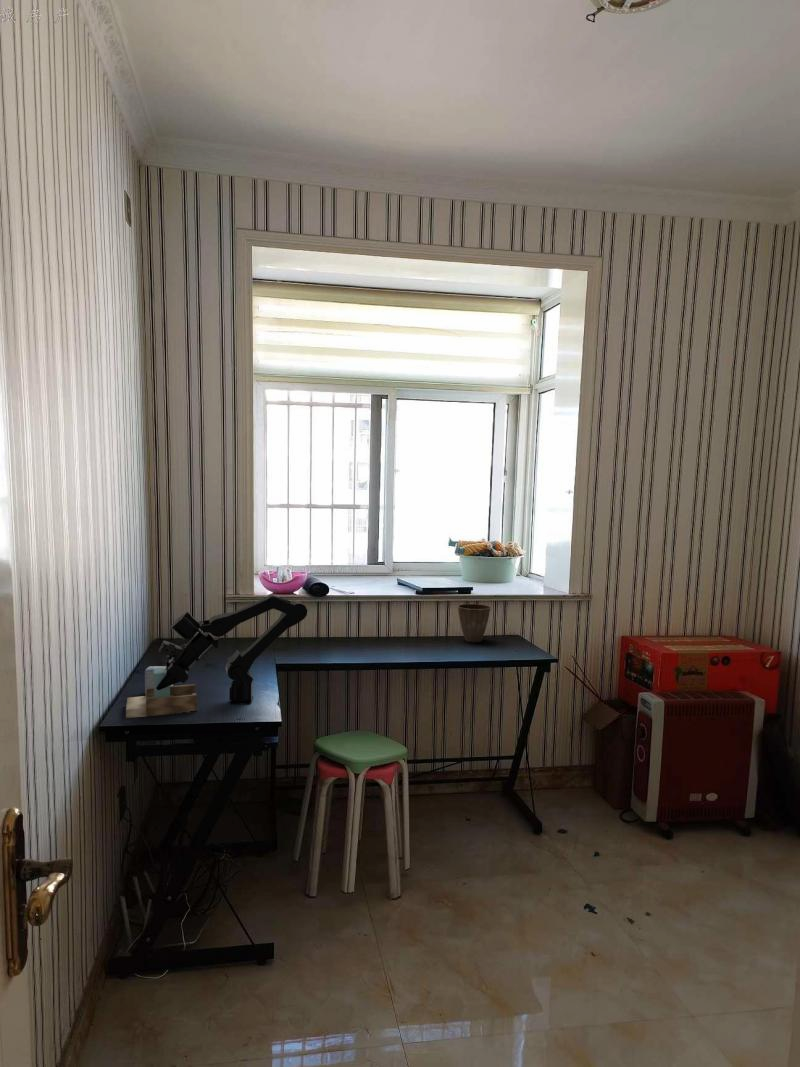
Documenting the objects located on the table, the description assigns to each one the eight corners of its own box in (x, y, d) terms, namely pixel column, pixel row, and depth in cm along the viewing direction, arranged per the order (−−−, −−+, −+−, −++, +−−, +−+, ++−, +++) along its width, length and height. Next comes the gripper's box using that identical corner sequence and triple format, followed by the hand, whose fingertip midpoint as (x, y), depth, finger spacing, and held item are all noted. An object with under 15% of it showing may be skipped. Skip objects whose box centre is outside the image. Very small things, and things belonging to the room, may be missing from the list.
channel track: (195, 699, 210) (195, 684, 210) (197, 711, 199) (197, 695, 199) (127, 705, 203) (127, 689, 203) (126, 718, 192) (125, 701, 192)
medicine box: (173, 691, 218) (173, 666, 218) (169, 695, 214) (169, 669, 213) (149, 691, 218) (149, 665, 218) (144, 695, 214) (144, 669, 213)
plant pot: (453, 637, 309) (454, 603, 308) (483, 636, 312) (484, 603, 311) (461, 644, 295) (462, 609, 294) (493, 644, 297) (494, 609, 296)
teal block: (169, 697, 204) (169, 669, 204) (170, 701, 200) (169, 672, 199) (154, 698, 202) (154, 670, 202) (154, 703, 198) (154, 674, 198)
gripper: (174, 626, 210) (137, 662, 207) (176, 638, 193) (136, 678, 189) (200, 648, 213) (164, 685, 210) (204, 662, 196) (165, 702, 193)
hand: (157, 687), depth 200 cm, fingers closed on teal block, 4 cm apart
